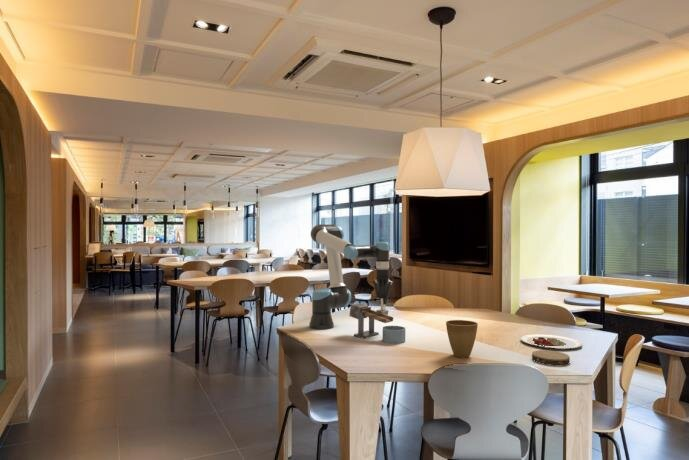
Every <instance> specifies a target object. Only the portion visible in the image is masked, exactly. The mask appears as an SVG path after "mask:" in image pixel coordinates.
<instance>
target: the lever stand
mask: <svg viewBox="0 0 689 460" xmlns="http://www.w3.org/2000/svg"><path fill="white" fill-rule="evenodd" d="M364 320H365V318H364V313H358V319H357V321H358V322H357V323H358V324H357V333H354V334H353V337H355V338H361V339H369V338H371V337H375V336H379V335H380V334H379V332H377V331H375V319H372V318H369V317H368V330H365V329H364V328H365V326H364V325H365V324H364V322H365V321H364Z"/></svg>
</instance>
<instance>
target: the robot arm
mask: <svg viewBox="0 0 689 460" xmlns="http://www.w3.org/2000/svg"><path fill="white" fill-rule="evenodd" d="M344 237H345V235H344V230H343V229H342V227H341V226H340V225H338V224H316V225H314V226H313V227H312V228H311V230H310V238H311V239H312V241H314V243H317V244H319V245H323V248H325V250H326V260H327V267H328V268H327V269H328V275H329V284H330V285H329V286H328V287H325V288H316V289H315V290H313V291H312V294H311V295H312V297H311V300H312V301H311V302H312V303H311V305H312V308H311V310H312V311H311V313H312V314H311V317H310V320H309V328H310V329H314V330H328V329H332V328H334V326H335V323H334V321H333V318H332V310H333V309H339V308H340V309H341V308H346V307H347V306H349V305H350V303H351V300H352V293H351V291H350V289H348V288H347V285H346V284H345V283H344V276H343V270H342V269H343V268H342V261H341V254H343V256H344V257H345V258H346V259H349V260H358V259H360V260H361V259H375V268H376V270H375V276H376V278H375V279H374V280H372V284H373V286H374V290H375V294H376V295H375V296H376V298H379V304H380V309H381V310H387V308H386V305H387V299H388V298H390V294H391V290H392V286H393V285H394V281H393V280H390V269H389V268H390V245H389V242H387V241H384V242H383V241H378V242H377V241H376V243H375V245H371V244H370V245H366V244H365V245H356V244H353V243H351V242H349V241H347V240H344Z"/></svg>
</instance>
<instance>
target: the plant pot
mask: <svg viewBox="0 0 689 460" xmlns="http://www.w3.org/2000/svg"><path fill="white" fill-rule="evenodd" d="M478 324H479V323H478V322H476V321H473V320H464V319H450V320H447V321H445V326H446V332H447V337H448V342H449V345H450V349H451V351H452V354H453V356H454V357H456V358H463V359H464V358H470V356H471V354H472V351H473V349H474V346H475V345H474V344H475V340H476V337H477V332H478Z"/></svg>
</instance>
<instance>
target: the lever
mask: <svg viewBox="0 0 689 460" xmlns="http://www.w3.org/2000/svg"><path fill="white" fill-rule="evenodd" d="M358 313H364V319H367V318H368V319H369V318H372V319H374V321H377V322H381V323H383V324H387V323H392V322H393V321H394V316H390V315H389V310H388V309H386V310H381V308H379V309H376V310H373V309H372V306H369V305H367V304H363V303H360V302H357V303H351V304H350V308H349V315H348V316H349V317H351V318H354V319H356V320H358Z"/></svg>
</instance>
